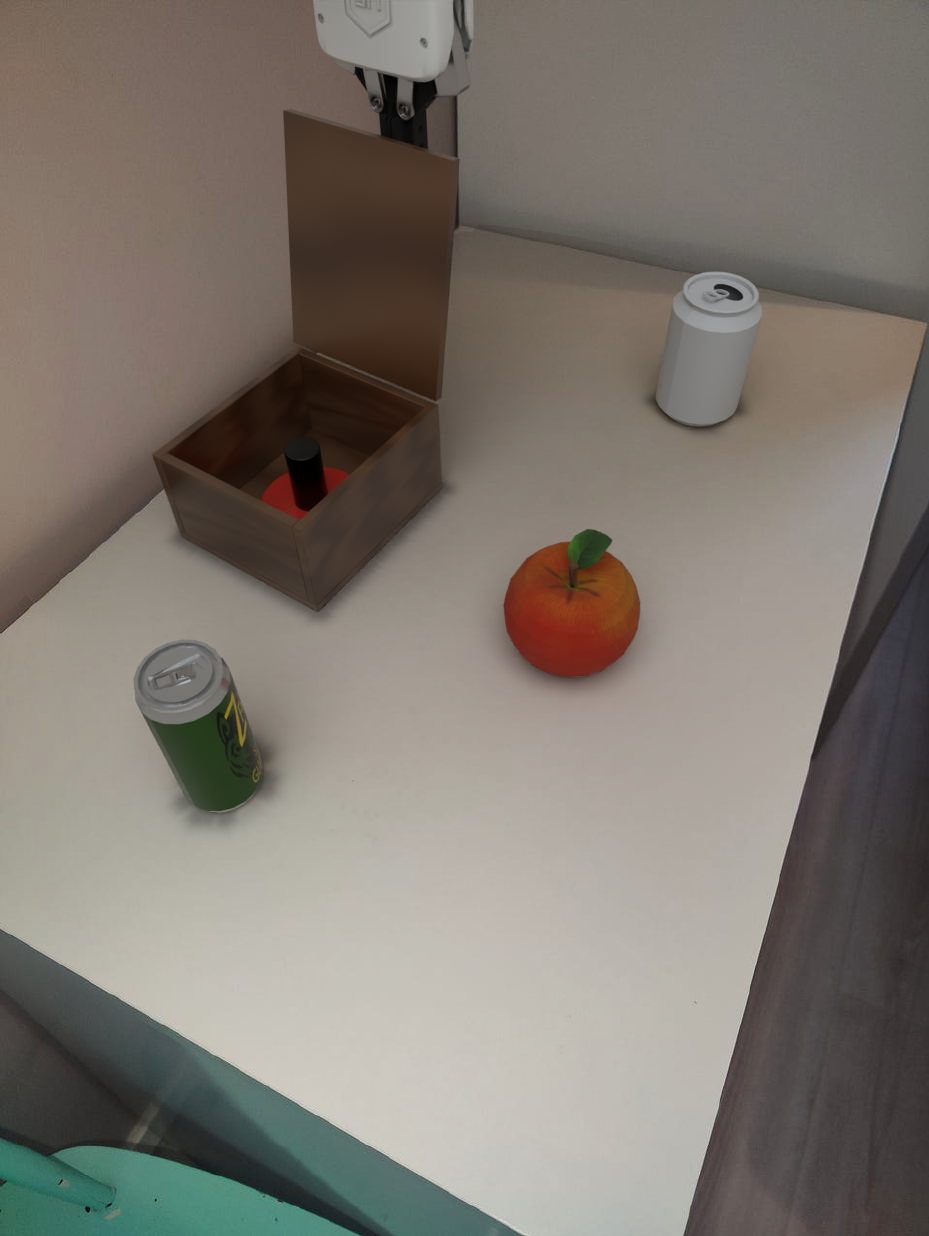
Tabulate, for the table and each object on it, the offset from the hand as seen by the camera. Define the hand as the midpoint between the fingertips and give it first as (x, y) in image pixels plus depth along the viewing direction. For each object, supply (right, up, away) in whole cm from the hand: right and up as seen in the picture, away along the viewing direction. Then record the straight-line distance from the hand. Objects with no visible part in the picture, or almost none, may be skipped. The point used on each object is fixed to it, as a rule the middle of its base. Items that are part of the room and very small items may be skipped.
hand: (406, 167), depth 66 cm
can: (+26, -13, +18) cm, 34 cm away
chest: (-8, -24, +10) cm, 27 cm away
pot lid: (-8, -24, +9) cm, 27 cm away
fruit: (+12, -35, +1) cm, 37 cm away
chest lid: (-3, -7, +1) cm, 7 cm away
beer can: (-12, -44, -6) cm, 46 cm away
